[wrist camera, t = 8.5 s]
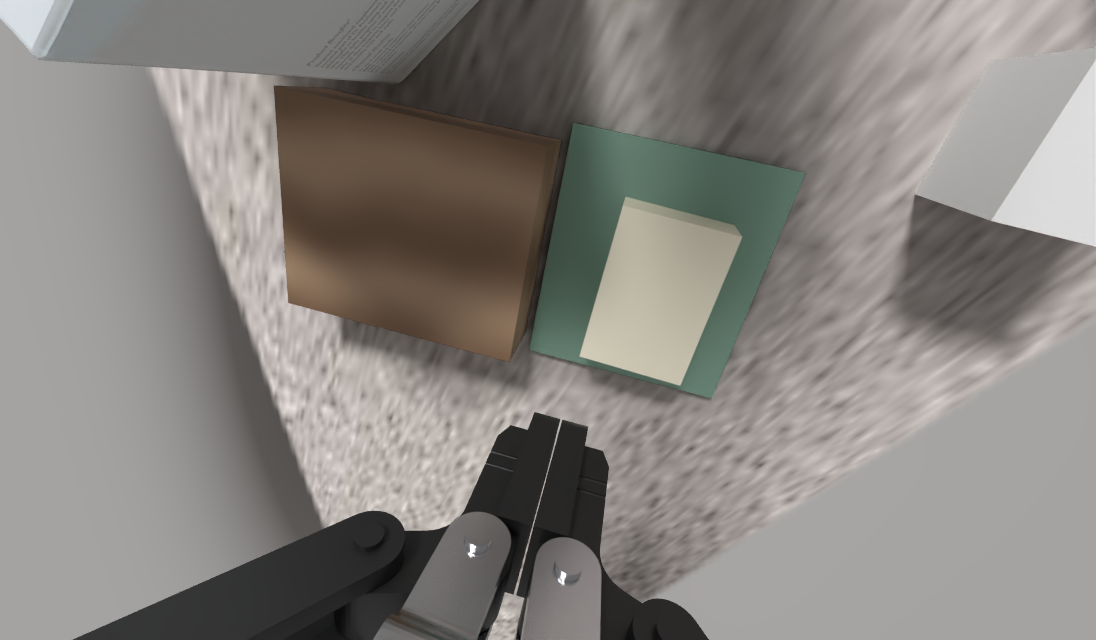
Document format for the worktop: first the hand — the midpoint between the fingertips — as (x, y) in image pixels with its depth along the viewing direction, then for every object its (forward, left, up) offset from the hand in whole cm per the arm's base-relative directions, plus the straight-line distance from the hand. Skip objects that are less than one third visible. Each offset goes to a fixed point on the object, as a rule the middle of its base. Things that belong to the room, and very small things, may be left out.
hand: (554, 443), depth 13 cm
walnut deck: (0, -11, -17) cm, 20 cm away
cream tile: (+1, +3, -14) cm, 14 cm away
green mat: (0, +3, -17) cm, 17 cm away
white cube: (-10, +17, -17) cm, 26 cm away
